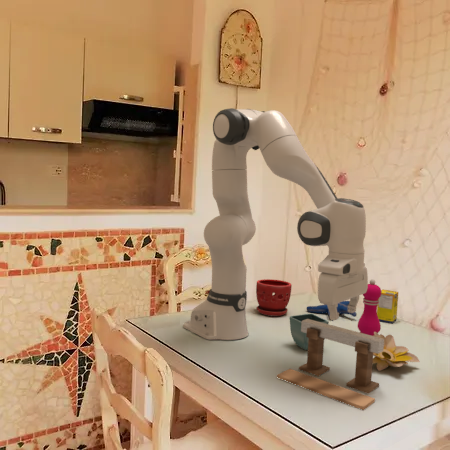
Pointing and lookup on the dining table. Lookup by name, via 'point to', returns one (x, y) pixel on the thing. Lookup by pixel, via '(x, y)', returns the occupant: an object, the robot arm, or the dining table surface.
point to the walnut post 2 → (363, 370)
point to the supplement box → (387, 306)
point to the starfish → (321, 309)
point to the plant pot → (273, 296)
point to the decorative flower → (392, 354)
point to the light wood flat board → (327, 389)
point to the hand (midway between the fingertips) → (343, 315)
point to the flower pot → (296, 328)
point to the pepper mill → (370, 310)
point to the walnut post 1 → (314, 354)
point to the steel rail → (343, 335)
